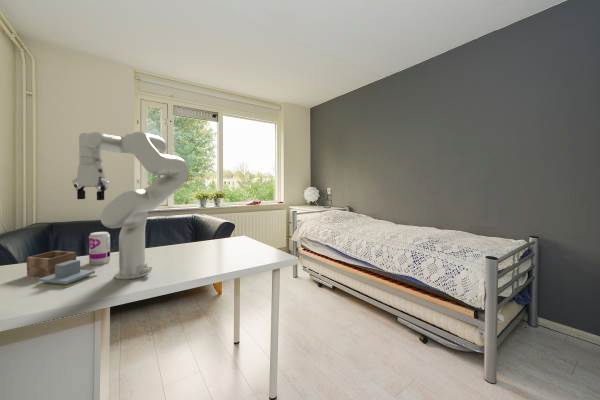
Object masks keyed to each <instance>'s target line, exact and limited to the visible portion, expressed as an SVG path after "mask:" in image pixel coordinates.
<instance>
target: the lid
mask: <svg viewBox="0 0 600 400" xmlns="http://www.w3.org/2000/svg"><path fill="white" fill-rule="evenodd" d="M95 273H96V270H90V269H81V260H79V259H76V260H70V261H67V262H64V263H60V264H57V265H55V274H52V275H49V276H46V277H39V278H38V282H39V283H41V282H48V283H59V284H69V283H71V282H74V281H77V280H79V279H82V278H85V277H87V276H88V275H95Z"/></svg>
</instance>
